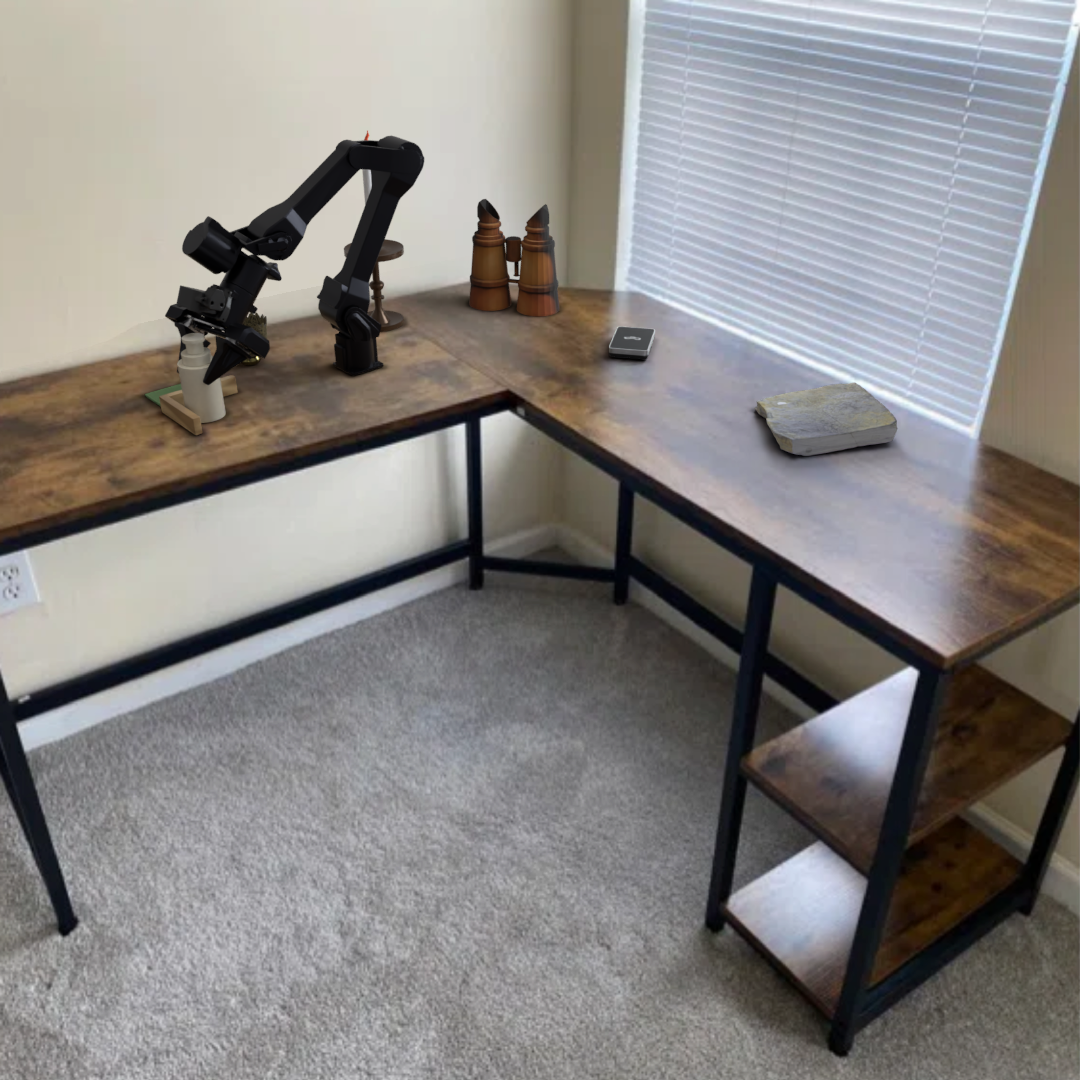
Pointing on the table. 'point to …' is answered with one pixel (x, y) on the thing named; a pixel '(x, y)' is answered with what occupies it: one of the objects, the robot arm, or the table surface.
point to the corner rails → (179, 413)
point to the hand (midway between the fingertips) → (192, 378)
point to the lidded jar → (199, 380)
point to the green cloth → (162, 393)
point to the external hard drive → (631, 342)
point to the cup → (259, 326)
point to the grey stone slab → (827, 419)
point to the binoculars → (534, 271)
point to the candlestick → (387, 253)
